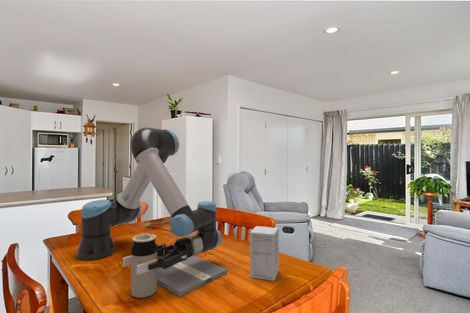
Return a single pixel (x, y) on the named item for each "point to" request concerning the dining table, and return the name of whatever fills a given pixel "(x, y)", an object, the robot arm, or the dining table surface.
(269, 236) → the supplement box
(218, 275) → the board
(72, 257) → the dining table surface
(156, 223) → the hammer
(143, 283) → the travel mug
